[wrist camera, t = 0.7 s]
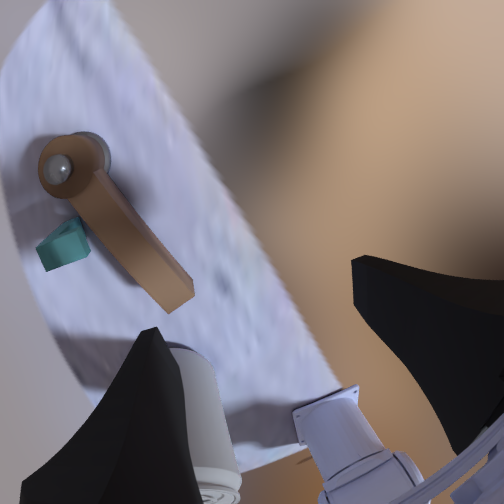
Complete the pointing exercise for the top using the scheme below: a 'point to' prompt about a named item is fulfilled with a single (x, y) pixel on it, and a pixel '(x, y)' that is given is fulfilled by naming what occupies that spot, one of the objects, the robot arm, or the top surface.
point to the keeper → (64, 245)
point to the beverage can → (207, 430)
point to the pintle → (70, 163)
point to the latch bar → (117, 221)
